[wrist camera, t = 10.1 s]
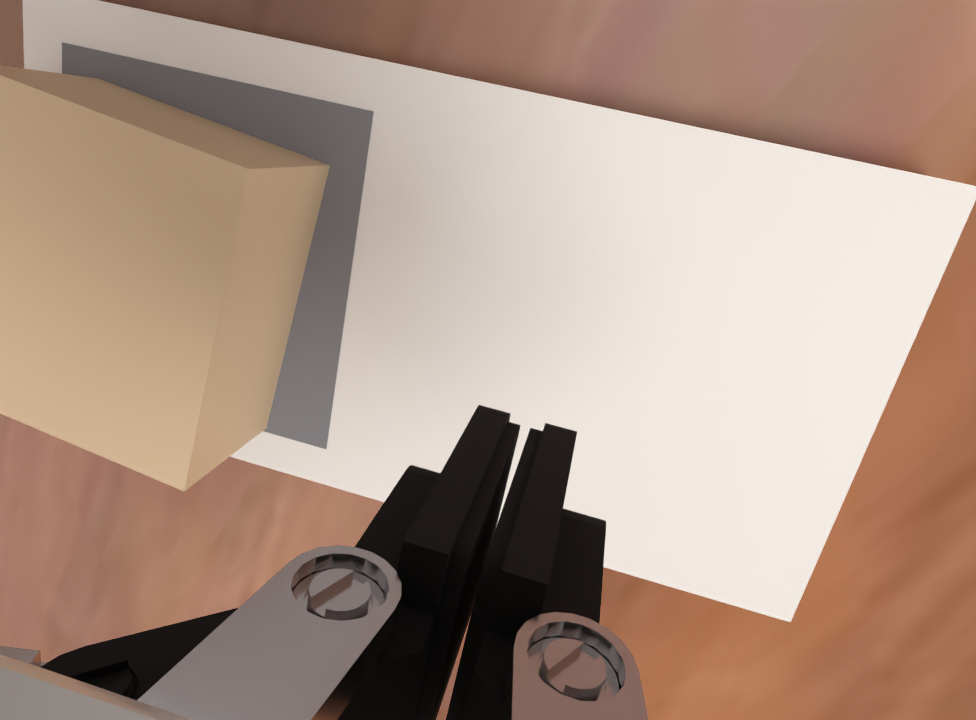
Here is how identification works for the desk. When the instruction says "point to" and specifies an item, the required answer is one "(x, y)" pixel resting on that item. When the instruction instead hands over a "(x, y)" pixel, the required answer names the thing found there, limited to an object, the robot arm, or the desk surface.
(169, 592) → the desk surface
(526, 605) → the robot arm
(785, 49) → the desk surface
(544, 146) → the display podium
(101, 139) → the kraft carton
